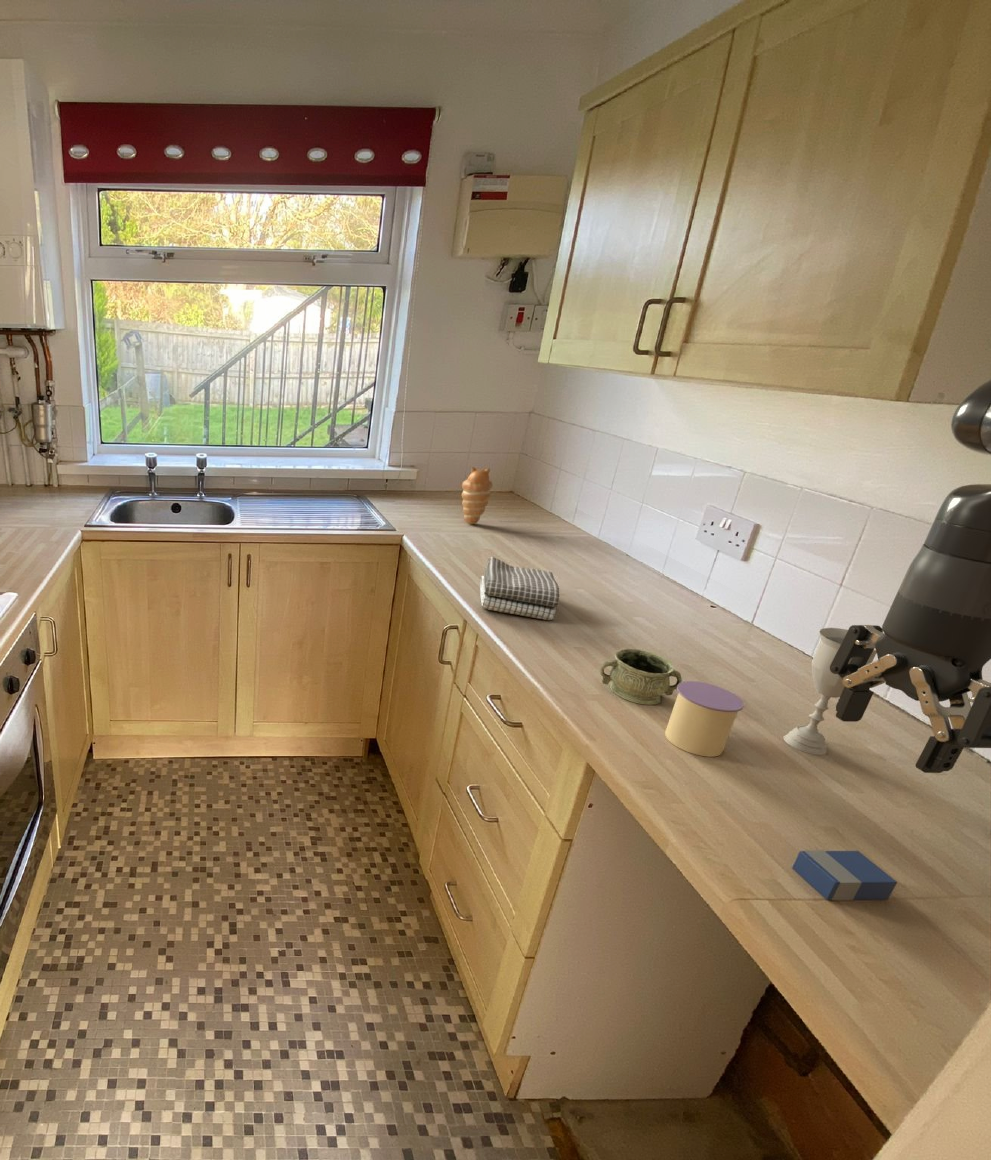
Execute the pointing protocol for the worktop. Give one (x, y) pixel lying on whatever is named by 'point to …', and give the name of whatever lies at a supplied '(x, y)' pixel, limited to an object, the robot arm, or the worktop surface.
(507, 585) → the towel
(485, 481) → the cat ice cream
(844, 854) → the block
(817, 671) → the chalice
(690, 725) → the yogurt pot
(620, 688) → the vessel
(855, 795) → the worktop surface
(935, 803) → the worktop surface
